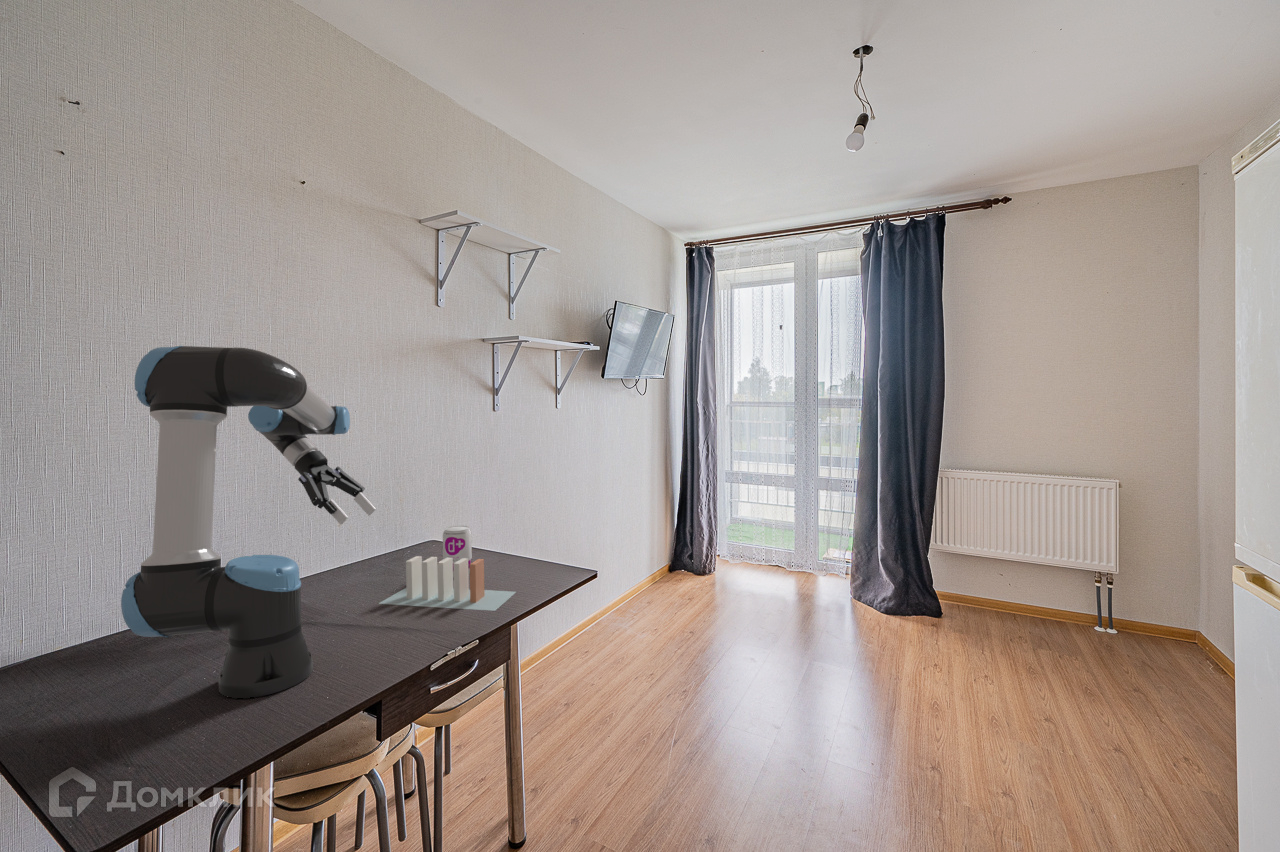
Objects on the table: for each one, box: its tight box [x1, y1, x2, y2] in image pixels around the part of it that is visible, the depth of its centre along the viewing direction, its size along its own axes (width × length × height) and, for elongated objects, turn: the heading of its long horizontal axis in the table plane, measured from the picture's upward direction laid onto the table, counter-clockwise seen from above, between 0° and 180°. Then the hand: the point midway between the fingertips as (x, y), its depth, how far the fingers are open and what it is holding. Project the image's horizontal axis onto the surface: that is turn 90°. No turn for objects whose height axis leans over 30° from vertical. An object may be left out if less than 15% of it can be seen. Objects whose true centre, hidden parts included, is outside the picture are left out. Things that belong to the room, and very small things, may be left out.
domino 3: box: [437, 558, 454, 601], centre depth 149 cm, size 2×5×10 cm, turn 170°
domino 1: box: [405, 555, 423, 599], centre depth 150 cm, size 2×5×10 cm, turn 171°
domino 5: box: [469, 558, 485, 603], centre depth 147 cm, size 2×5×10 cm, turn 170°
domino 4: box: [453, 558, 470, 602], centre depth 148 cm, size 2×5×10 cm, turn 171°
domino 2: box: [422, 556, 438, 600], centre depth 150 cm, size 2×5×10 cm, turn 170°
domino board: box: [378, 587, 517, 612], centre depth 149 cm, size 14×32×1 cm, turn 80°
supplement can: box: [442, 525, 473, 579], centre depth 170 cm, size 8×8×15 cm
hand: (359, 516), depth 152 cm, fingers open, 11 cm apart
